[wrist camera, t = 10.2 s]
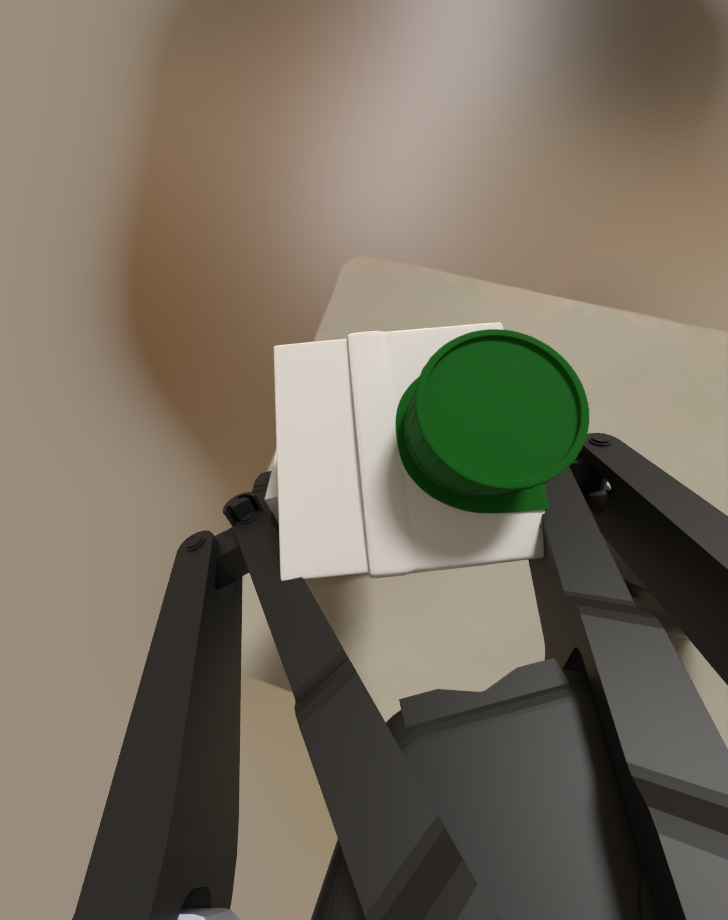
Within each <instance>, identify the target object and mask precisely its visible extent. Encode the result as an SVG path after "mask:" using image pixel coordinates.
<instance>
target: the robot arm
mask: <svg viewBox="0 0 728 920" xmlns="http://www.w3.org/2000/svg"><path fill="white" fill-rule="evenodd" d="M607 481H608V482H609V483H610V486H611V489H610V488H609V487H608V486H607V485H606V483H607ZM544 487H545V491H546V495H547V499H548V504H549V508H547V509H545V513H544V514H542V524H543V543H544V557H542V558H534V559H528V560H529V565H530V570H531V575H532V580H533V585H534V590H535V595H536V601H537V606H538V611H539V616H540V621H541V626H542V631H543V636H544V642H545V660H544V661H541V662H537V663H533V664H529V665H526V666H522V667H518V668H516V669H514V670H513V671H512V672H510V673H509V674H508V675H506V676H505V677H503V678H502V679H501V680H499V681H498V682H496V683H495V684H494V685H492V686H491V687H490V688H488V689H487V690H485V691H483V692H471V691H456V690H442V689H436V690H433V691H429V692H425V693H421V694H418V695H414V696H410V697H406V698H403V699H399V701H400V706H401V710H400V711H399V712H397V713H396V714H394V715H393V716H392V717H391V718H390V719H389V720H388V721H387V722H386V723H385V721H384V719H383V718H382V716H381V714H380V712H379V711H378V709H377V707H376V705H375V703H374V702H373V700H372V698H371V696H370V695H369V693H368V691H367V689H366V688H365V686H364V684H363V682H362V681H361V679H360V677H359V675H358V674H357V672H356V670H355V668H354V667H353V665H352V663H351V661H350V660H349V658H348V656H347V655H346V653H345V651H344V649H343V648H342V646H341V644H340V642H339V641H338V639H337V637H336V635H335V634H334V632H333V630H332V628H331V627H330V625H329V623H328V621H327V620H326V618H325V616H324V614H323V613H322V611H321V609H320V607H319V605H318V604H317V602H316V600H315V598H314V597H313V595H312V593H311V591H310V590H309V588H308V586H307V584H306V583H305V581H304V579H303V577H299V578H294V579H290V580H285V581H281V576H280V544H279V509H278V475H277V451H276V455H275V459H274V463H273V467H272V471H269V472H265V473H261V474H260V475H259V477H258V478H257V479H256V480H255V483H254V486H253V489H252V493H251V492H247V493H242V494H239V495H237V496H235V497H233V498H232V499H230V500H229V501H228V502H227V503H226V504H225V506H224V508H223V513H224V515H225V516H226V517H227V519H228V520H229V522H230V523H231V525H232V526H233V527H232V528H230V529H228V530H227V531H225V532H222V533H221V534H218V535H216V536H214V535H213V533H211V532H210V531H201V532H197V533H195V534H193V535H191V536H190V537H189V538H187V539H186V540H185V541H184V542H183V543H182V544H181V545H180V547H179V549H178V551H177V554H176V557H175V561H174V564H173V568H172V572H171V575H170V579H169V582H168V586H167V589H166V593H165V596H164V600H163V603H162V607H161V611H160V614H159V618H158V621H157V625H156V628H155V632H154V635H153V639H152V642H151V646H150V650H149V653H148V656H147V660H146V664H145V667H144V671H143V674H142V678H141V681H140V685H139V688H138V692H137V695H136V699H135V702H134V706H133V710H132V713H131V717H130V720H129V724H128V727H127V731H126V734H125V738H124V741H123V745H122V748H121V752H120V755H119V759H118V763H117V766H116V770H115V773H114V777H113V780H112V784H111V787H110V791H109V794H108V798H107V801H106V805H105V809H104V812H103V816H102V819H101V823H100V826H99V830H98V834H97V837H96V841H95V844H94V847H93V851H92V855H91V858H90V862H89V865H88V869H87V872H86V876H85V879H84V883H83V886H82V890H81V894H80V897H79V901H78V904H77V908H76V911H75V914H74V917H73V919H72V920H239V918H238V917H237V916H236V915H235V913H234V912H233V911H232V910H230V906H231V900H232V892H233V884H234V875H235V867H236V858H237V842H238V823H239V765H240V698H241V695H240V694H241V632H242V576H244V575H245V574H247V573H250V575H251V578H252V581H253V584H254V586H255V589H256V592H257V595H258V597H259V600H260V603H261V606H262V608H263V611H264V614H265V617H266V619H267V622H268V625H269V628H270V630H271V633H272V636H273V639H274V641H275V644H276V647H277V650H278V652H279V655H280V658H281V661H282V663H283V666H284V669H285V672H286V674H287V677H288V680H289V683H290V685H291V688H292V691H293V694H294V697H295V702H296V704H295V713H296V718H297V721H298V724H299V727H300V730H301V733H302V736H303V739H304V742H305V745H306V747H307V750H308V753H309V756H310V759H311V762H312V765H313V768H314V770H315V773H316V776H317V779H318V782H319V785H320V788H321V790H322V794H323V796H324V799H325V802H326V805H327V808H328V811H329V814H330V817H331V819H332V822H333V825H334V828H335V831H336V834H337V836H338V840H337V843H336V846H335V849H334V852H333V855H332V858H331V861H330V864H329V867H328V870H327V873H326V876H325V879H324V882H323V885H322V888H321V891H320V894H319V897H318V900H317V903H316V906H315V909H314V912H313V915H312V918H311V920H728V749H727V747H726V745H725V743H724V741H723V740H722V738H721V736H720V734H719V732H718V730H717V728H716V726H715V724H714V722H713V720H712V719H711V717H710V715H709V713H708V711H707V709H706V707H705V705H704V703H703V701H702V700H701V698H700V696H699V694H698V692H697V690H696V688H695V686H694V684H693V682H692V680H691V679H690V677H689V675H688V673H687V671H686V669H685V667H684V665H683V663H682V661H681V660H680V658H679V656H678V654H677V652H676V650H675V648H674V646H673V644H672V642H671V640H670V639H669V637H674V638H685V639H689V640H690V641H691V642H692V643H693V644H694V646H695V647H696V648H697V649H698V650H699V652H700V653H701V654H702V655H703V656H704V658H705V659H706V660H707V661H708V662H709V664H710V665H711V666H712V667H713V668H714V670H715V671H716V672H717V673H718V674H719V676H720V677H721V678H722V679H723V680H724V682H725V683H726V684H727V685H728V516H727V515H725V514H724V513H722V512H721V511H720V510H718V509H717V508H715V507H714V506H713V505H711V504H710V503H708V502H707V501H705V500H704V499H703V498H701V497H700V496H698V495H697V494H696V493H694V492H693V491H691V490H690V489H688V488H687V487H686V486H684V485H683V484H681V483H680V482H679V481H677V480H676V479H674V478H673V477H671V476H670V475H669V474H667V473H666V472H664V471H663V470H662V469H660V468H659V467H657V466H656V465H654V464H653V463H652V462H650V461H649V460H647V459H646V458H645V457H643V456H642V455H640V454H639V453H637V452H636V451H635V450H633V449H632V448H630V447H629V446H628V445H626V444H625V443H623V442H622V441H620V440H619V439H617V438H615V437H613V436H610V435H607V434H603V433H601V434H600V433H589V434H587V436H586V440H585V442H584V445H583V447H582V449H581V451H580V453H579V454H578V456H577V457H576V459H575V460H574V461H573V462H572V464H571V465H570V466H569V467H568V468H567V469H566V470H564V471H563V472H562V473H561V474H559V475H558V476H557V477H555V478H553V479H552V480H550V481H548V482H547V483H545V484H544Z"/></svg>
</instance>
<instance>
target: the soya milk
mask: <svg viewBox="0 0 728 920" xmlns="http://www.w3.org/2000/svg"><path fill="white" fill-rule="evenodd" d="M347 338H348V339H339V340H328V341H318V342H308V343H297V344H289V345H278V346H274V372H275V405H276V406H275V407H276V440H277V475H278V509H279V544H280V576H281V581H285V580H290V579H294V578H299V577H303V579H314V578H324V577H334V576H344V575H355V574H365V573H370V577H371V578H381V577H392V576H401V575H406V574H410V573H418V572H427V571H436V570H445V569H453V568H463V567H472V566H481V565H488V564H496V563H503V562H511V561H519V560H527V559H534V558H542V557H544V543H543V524H542V514H544V513H545V509H547V508H549V504H548V499H547V495H546V491H545V487H544V484H545V483H547V482H548V481H550V480H552V479H553V478H555V477H557V476H558V475H559V474H561V473H562V472H563V471H564V470H566V469H567V468H568V467H569V466H570V465H571V464H572V462H573V461H574V460H575V459H576V457H577V456H578V454H579V453H580V451H581V449H582V447H583V445H584V442H585V440H586V436H587V432H588V426H589V408H588V402H587V397H586V394H585V391H584V388H583V386H582V384H581V382H580V380H579V378H578V376H577V374H576V373H575V371H574V370H573V369H572V367H571V366H570V365H569V364H568V362H567V361H566V360H565V359H564V358H563V357H562V356H561V355H560V354H559V353H557V352H556V351H555V350H554V349H552V348H551V347H549V346H548V345H546V344H545V343H543V342H541V341H539V340H537V339H535V338H533V337H531V336H528V335H525V334H522V333H519V332H514V331H509V330H504V329H503V326H502V324H501V323H500V322H497V323H483V324H472V325H460V326H448V327H436V328H425V329H413V330H402V331H391V332H381V331H370V332H359V333H352V334H348V336H347Z"/></svg>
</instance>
